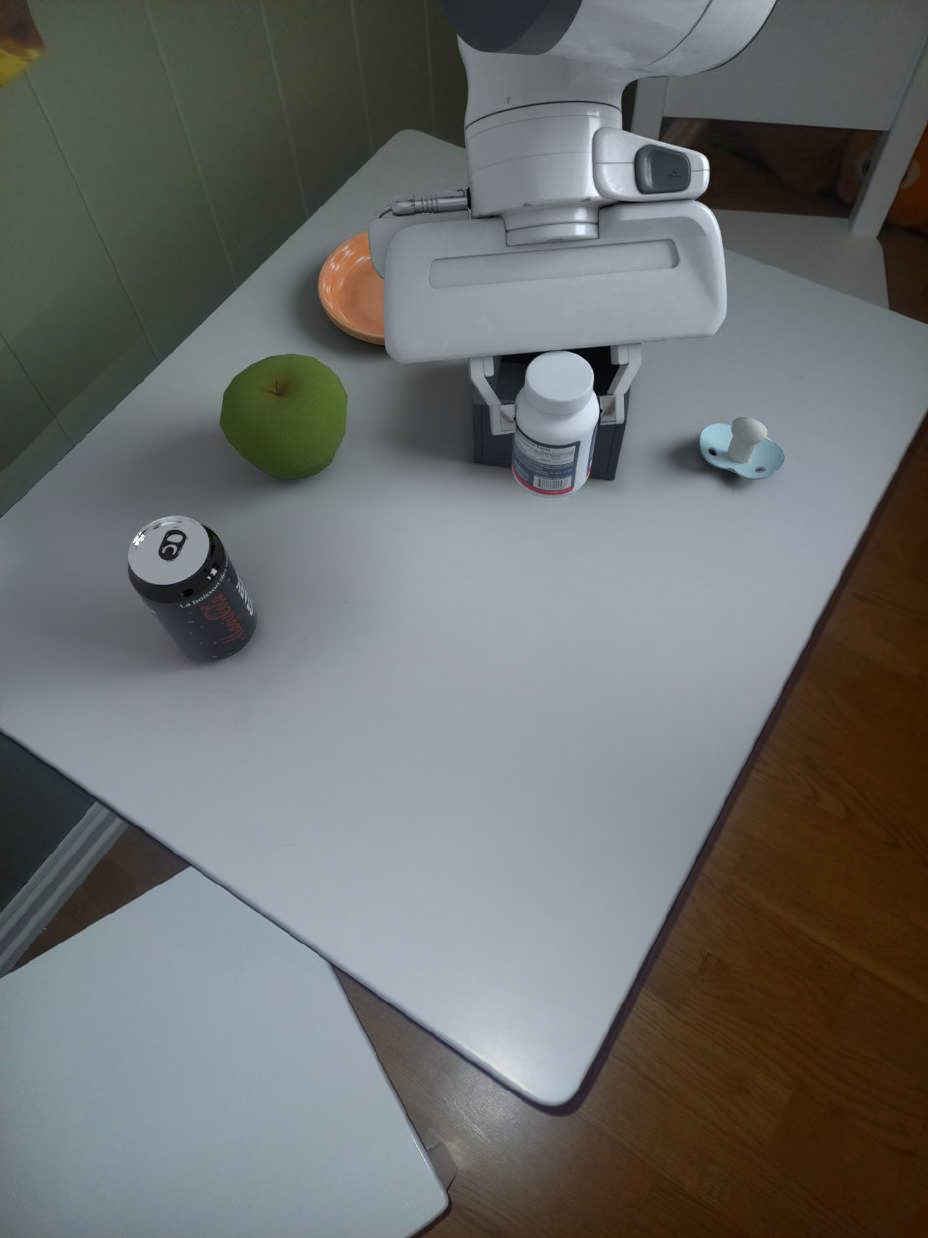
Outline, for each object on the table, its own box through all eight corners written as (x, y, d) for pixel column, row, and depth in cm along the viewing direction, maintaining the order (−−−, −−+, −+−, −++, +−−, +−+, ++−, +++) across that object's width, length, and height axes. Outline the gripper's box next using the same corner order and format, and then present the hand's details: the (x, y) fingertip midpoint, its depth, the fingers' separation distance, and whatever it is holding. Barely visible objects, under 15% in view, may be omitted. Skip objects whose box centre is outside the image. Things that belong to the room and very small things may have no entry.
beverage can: (271, 599, 70) (232, 516, 59) (244, 674, 67) (198, 599, 56) (193, 586, 71) (141, 501, 60) (163, 659, 68) (102, 583, 57)
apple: (332, 397, 80) (313, 314, 71) (377, 476, 75) (362, 398, 67) (224, 439, 78) (190, 359, 69) (263, 523, 73) (232, 449, 65)
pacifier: (711, 420, 78) (688, 465, 75) (729, 369, 72) (704, 415, 70) (789, 448, 76) (767, 496, 73) (813, 398, 70) (791, 447, 68)
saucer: (336, 373, 81) (331, 349, 79) (311, 263, 89) (305, 238, 86) (497, 341, 83) (497, 317, 80) (459, 235, 90) (458, 210, 88)
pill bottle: (548, 426, 59) (558, 327, 51) (605, 468, 57) (624, 372, 49) (495, 469, 57) (496, 375, 49) (552, 514, 55) (563, 423, 47)
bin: (626, 374, 80) (638, 309, 73) (614, 480, 75) (626, 420, 68) (494, 360, 82) (495, 295, 75) (473, 463, 76) (471, 403, 69)
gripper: (360, 186, 45) (388, 448, 49) (738, 155, 46) (735, 417, 50) (367, 207, 51) (392, 439, 55) (701, 179, 52) (701, 411, 56)
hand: (557, 428), depth 53 cm, fingers closed on pill bottle, 5 cm apart
